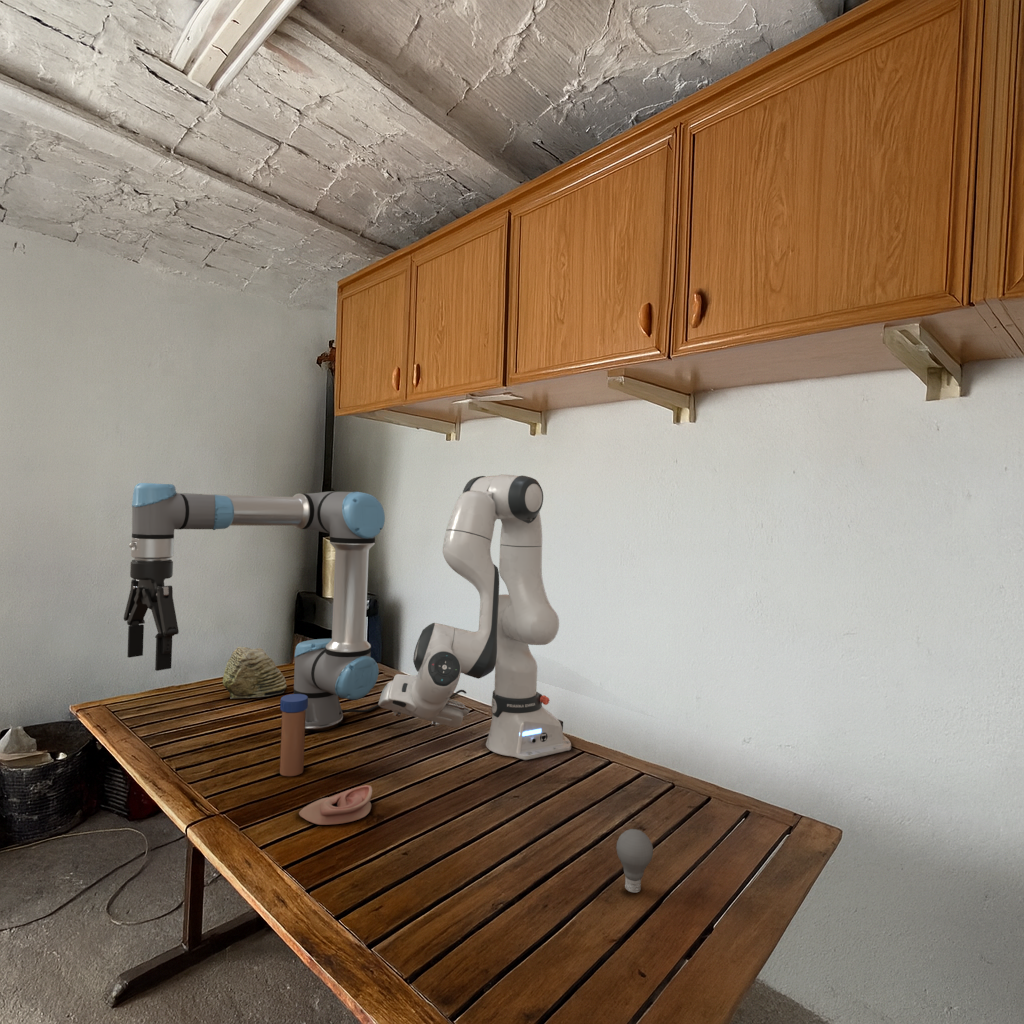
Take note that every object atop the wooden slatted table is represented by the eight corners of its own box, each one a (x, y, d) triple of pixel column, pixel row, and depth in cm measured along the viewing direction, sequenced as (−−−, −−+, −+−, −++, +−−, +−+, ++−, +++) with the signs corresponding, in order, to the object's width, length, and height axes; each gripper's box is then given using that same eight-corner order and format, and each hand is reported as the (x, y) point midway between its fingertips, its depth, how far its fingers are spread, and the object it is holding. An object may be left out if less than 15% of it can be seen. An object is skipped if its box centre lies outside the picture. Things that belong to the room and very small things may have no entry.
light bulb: (610, 879, 108) (613, 822, 108) (644, 879, 109) (647, 822, 109) (619, 902, 102) (622, 840, 102) (655, 901, 103) (658, 840, 103)
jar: (275, 771, 145) (278, 699, 145) (296, 764, 149) (298, 694, 149) (287, 778, 142) (289, 704, 141) (307, 771, 145) (310, 700, 145)
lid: (275, 707, 145) (275, 697, 145) (299, 702, 149) (299, 692, 149) (288, 714, 141) (289, 703, 141) (312, 708, 145) (313, 698, 145)
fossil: (218, 695, 195) (220, 647, 195) (278, 685, 208) (279, 640, 207) (228, 703, 189) (230, 653, 188) (289, 692, 201) (290, 645, 201)
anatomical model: (291, 800, 123) (320, 775, 134) (290, 820, 123) (320, 794, 134) (354, 810, 120) (379, 784, 132) (353, 830, 121) (378, 803, 132)
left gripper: (108, 554, 134) (104, 654, 134) (159, 565, 118) (155, 678, 119) (146, 552, 140) (143, 648, 140) (199, 563, 124) (195, 671, 124)
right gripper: (473, 695, 148) (458, 717, 158) (389, 671, 145) (379, 695, 155) (468, 721, 144) (453, 742, 154) (381, 697, 141) (372, 719, 151)
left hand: (148, 662), depth 129 cm, fingers open, 13 cm apart
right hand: (415, 718), depth 155 cm, fingers open, 8 cm apart
